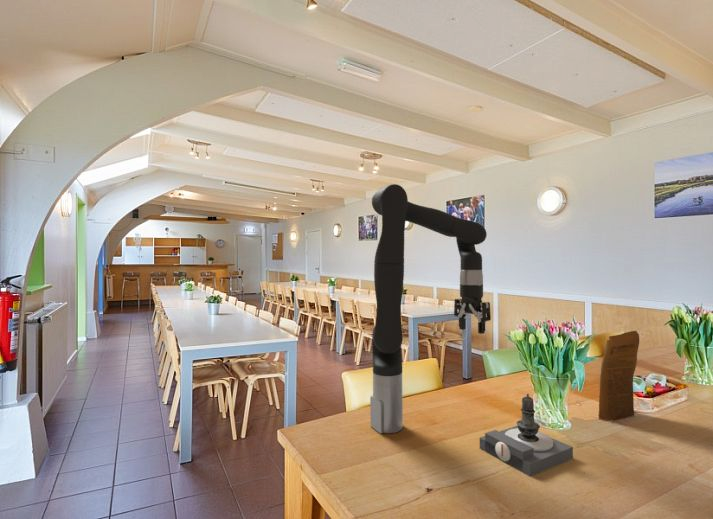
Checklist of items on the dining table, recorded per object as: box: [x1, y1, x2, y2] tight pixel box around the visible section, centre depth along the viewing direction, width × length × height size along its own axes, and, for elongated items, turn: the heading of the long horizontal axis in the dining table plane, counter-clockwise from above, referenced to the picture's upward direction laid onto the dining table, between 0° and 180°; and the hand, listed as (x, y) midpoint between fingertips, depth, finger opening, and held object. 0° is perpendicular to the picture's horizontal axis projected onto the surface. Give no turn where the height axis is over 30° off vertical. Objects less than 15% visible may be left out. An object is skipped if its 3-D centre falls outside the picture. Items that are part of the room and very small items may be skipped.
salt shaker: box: [516, 393, 541, 442], centre depth 106 cm, size 6×6×12 cm
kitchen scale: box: [479, 425, 574, 477], centre depth 105 cm, size 17×16×5 cm
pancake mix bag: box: [598, 330, 640, 421], centre depth 129 cm, size 7×19×28 cm, turn 112°
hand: (471, 331), depth 131 cm, fingers open, 8 cm apart
